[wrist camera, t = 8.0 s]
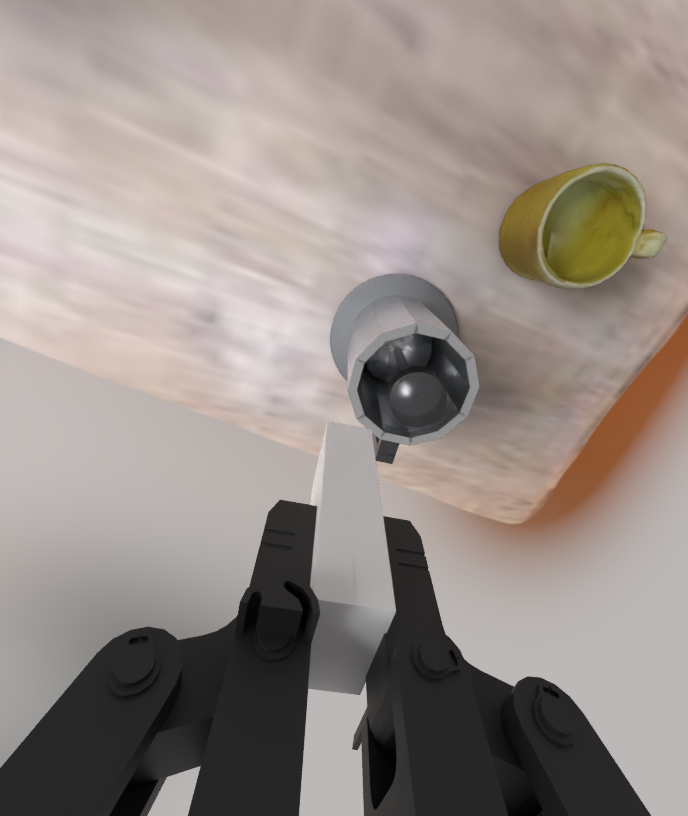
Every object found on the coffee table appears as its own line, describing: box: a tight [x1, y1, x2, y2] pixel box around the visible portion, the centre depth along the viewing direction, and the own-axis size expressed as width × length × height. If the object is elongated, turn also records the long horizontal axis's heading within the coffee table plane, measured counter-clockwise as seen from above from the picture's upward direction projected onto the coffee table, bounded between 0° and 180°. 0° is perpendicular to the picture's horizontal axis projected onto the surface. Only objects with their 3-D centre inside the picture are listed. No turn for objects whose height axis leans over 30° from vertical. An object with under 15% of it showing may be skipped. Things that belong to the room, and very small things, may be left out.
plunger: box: [366, 333, 447, 427], centre depth 33 cm, size 7×7×13 cm
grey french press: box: [348, 295, 480, 464], centre depth 36 cm, size 13×10×14 cm
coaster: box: [330, 274, 457, 381], centre depth 42 cm, size 14×14×1 cm
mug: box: [499, 163, 667, 289], centre depth 34 cm, size 12×10×10 cm
